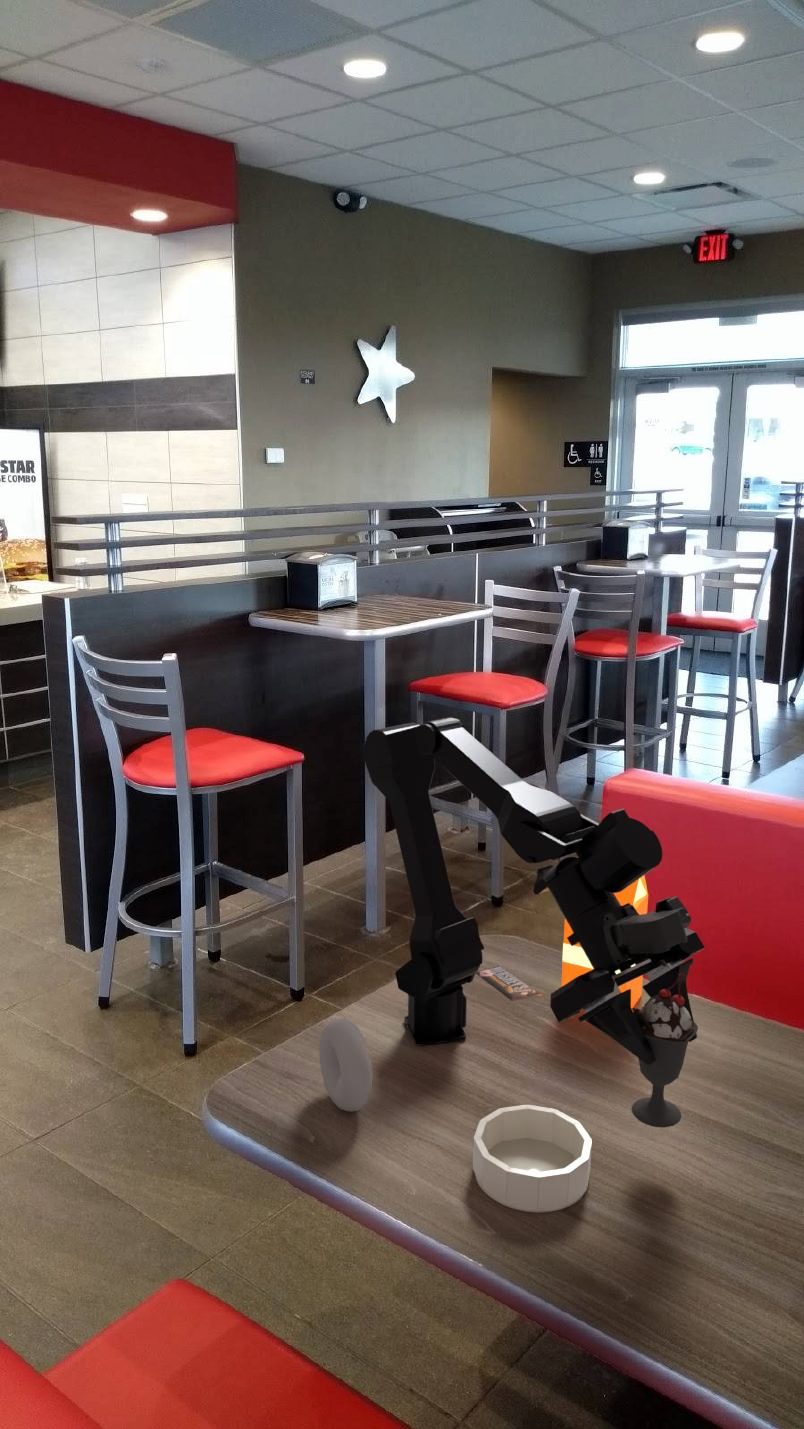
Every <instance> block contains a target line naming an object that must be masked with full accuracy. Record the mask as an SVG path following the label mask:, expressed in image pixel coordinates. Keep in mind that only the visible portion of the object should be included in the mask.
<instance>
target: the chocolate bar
mask: <svg viewBox="0 0 804 1429" xmlns="http://www.w3.org/2000/svg"><path fill="white" fill-rule="evenodd" d="M475 975H477V976H478V977H480V978H481V979H482V980H484V982H486V983H488V984H489V985H491V987H493V988H494V989H496V990H497V991H498V992H500V993H501V994H502V995H503V996H505V997H506V998H508V999H509V1000H510V1001H511V1003H517V1002H520V1001H521V1000H524V999H525V1000H526V999H528V998H532V997H541V996H543V994H542V993H540V992H538V991H536V990H535V989H533V988H532V987H530V986H529V985H527V984H526V983H525V982H524V981H522V980H520V979H519V978H517V977H516V976H515V975H513V974H512V973H511V972H509V970H507V969H505V968H504V967H503V966H501V965H497V966H494V967H492V968H487V969H483V970H480V971H479V970H478V971H477V972H476V973H475Z"/></svg>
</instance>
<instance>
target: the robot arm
mask: <svg viewBox="0 0 804 1429" xmlns="http://www.w3.org/2000/svg"><path fill="white" fill-rule="evenodd" d="M362 756H363V760H364V763H365V766H366V769H367V772H368V775H369V777H370V781H371V784H372V785H374V786H375V787H376V788H377V790H379V792H380V794H382V795H383V796H384V797H385V798H386V799H387V801H388V803H389V806H390V810H391V814H392V820H393V823H394V827H395V831H396V835H397V840H398V844H399V848H400V853H401V858H402V861H403V862H402V863H403V865H404V870H405V873H406V878H407V882H408V887H409V891H410V894H411V895H410V897H411V900H412V904H413V908H414V912H415V917H414V922H413V925H412V929H411V932H410V935H409V950H410V951H409V952H410V958H411V959H409V961H407V962H406V963H404V964H403V965H402V966H401V967H400V968H398V970H396V971H395V973H394V974H395V980H396V983H397V988H398V989H399V990H400V991H402V992H403V993H405V994H407V995H408V996H407V997H408V998H407V999H408V1002H407V1007H408V1008H407V1009H408V1010H407V1015H405V1016H404V1018H403V1019H404V1021H403V1022H405V1025H406V1027H407V1030H408V1032H409V1034H410V1035H411V1038H412V1039H413V1042H414V1044H415V1045H417V1046H422V1045H431V1044H440V1043H447V1042H456V1041H465V1040H466V1039H467V1034H466V1032H465V1030H464V1029H465V1028H466V1026H467V1006H468V1004H467V1002H468V1000H467V996H466V995H465V993H464V987H463V986H462V985H466V984H469V983H473V981H474V978H475V975H476V974H475V973H476V972H479V968H480V967H481V965H482V964H483V951H482V950H484V949H485V946H484V944H483V942H482V940H481V936H480V931H479V923H478V921H477V920H476V918H475V917H474V916H473V917H469V918H467V917H466V916H465V914H463V912H462V911H461V910H460V909H459V908H458V906H456V905H457V904H456V902H455V898H454V894H453V889H452V887H451V885H452V884H451V882H450V877H449V873H448V868H447V865H446V861H445V856H444V852H443V849H442V844H441V840H440V836H439V832H438V826H437V822H436V818H435V814H434V810H433V806H432V801H431V798H430V793H429V792H430V788H431V784H432V781H433V776H434V773H435V769H436V764H435V763H436V762H435V761H437V763H438V764H440V766H442V767H443V769H445V770H446V771H447V772H449V774H451V775H452V776H453V777H454V779H456V780H457V781H458V783H460V784H461V785H462V786H463V787H465V789H466V790H468V791H469V792H470V793H471V795H473V796H475V798H476V799H477V800H478V801H480V802H481V803H482V804H483V805H484V807H486V808H487V809H488V810H489V811H490V812H491V813H492V814H493V815H494V816H495V817H496V819H497V822H498V827H499V832H500V834H501V836H502V837H503V839H504V840H505V841H506V842H507V844H508V845H509V846H510V848H511V849H512V850H513V851H514V853H515V854H516V855H517V856H518V857H519V858H520V859H521V860H522V861H523V862H525V863H527V864H540V863H543V862H545V861H548V860H550V861H554V860H558V859H561V858H563V857H565V858H563V859H561V860H560V861H559V862H558V863H556V864H555V865H552V864H548V865H545V866H542V867H540V868H538V869H537V871H536V879H535V881H534V884H533V888H532V889H533V890H532V891H533V894H535V895H540V894H544V893H545V892H550V893H551V895H552V897H553V900H555V902H556V904H557V906H558V908H559V910H560V911H561V914H562V915H563V916H564V920H565V919H566V920H567V922H568V924H569V926H570V928H571V929H572V931H573V934H571V935H570V936H569V937H567V939H568V941H569V943H570V945H571V946H574V945H576V944H578V943H579V944H580V945H581V947H582V949H583V951H584V952H585V954H586V956H587V958H588V960H589V961H590V963H591V965H592V967H593V968H594V969H593V970H591V971H589V972H587V973H584V974H582V975H580V976H578V977H576V978H574V979H573V980H571V981H570V982H568V983H567V984H565V985H564V986H562V985H561V986H560V987H559V988H557V989H556V990H554V991H553V992H551V993H550V1000H549V1006H550V1007H549V1008H550V1010H551V1011H552V1012H553V1015H554V1017H555V1018H556V1020H557V1022H558V1023H561V1022H564V1021H566V1020H568V1019H570V1018H572V1017H574V1016H576V1015H577V1014H580V1013H581V1010H583V1011H584V1014H582V1015H581V1016H579V1017H577V1020H578V1021H579V1023H583V1022H587V1023H588V1024H590V1025H591V1026H592V1027H594V1028H596V1029H597V1030H599V1031H600V1032H602V1033H604V1034H605V1035H607V1036H608V1037H609V1038H611V1039H612V1040H613V1041H615V1042H616V1043H618V1044H619V1045H620V1046H622V1047H623V1048H624V1049H625V1050H627V1051H628V1052H630V1054H632V1055H633V1056H634V1057H636V1058H639V1059H640V1060H641V1061H643V1062H644V1063H645V1064H647V1065H650V1064H652V1063H654V1062H656V1058H655V1056H654V1053H653V1051H652V1048H651V1046H650V1044H649V1042H648V1040H647V1038H646V1036H645V1034H644V1033H643V1031H642V1029H641V1027H640V1025H639V1023H638V1021H637V1019H636V1017H635V1015H634V1013H633V1008H632V1009H631V989H628V990H626V991H624V992H622V993H621V991H620V989H619V986H621V985H623V984H625V983H627V982H630V981H632V980H634V979H636V978H638V977H640V976H642V975H643V976H644V975H645V976H646V978H647V979H648V983H646V984H645V985H642V990H644V991H645V993H646V994H647V995H648V996H649V997H650V998H651V997H653V996H656V995H658V994H659V993H660V991H661V990H662V989H667V990H668V989H669V988H670V987H671V986H672V985H673V984H674V983H675V982H676V980H677V978H678V974H684V976H685V977H683V978H682V979H681V983H680V996H682V997H683V998H684V1004H683V1006H684V1007H685V1008H686V1009H687V1011H688V1012H689V1014H690V1016H691V1020H692V1021H693V1022H695V1021H694V1016H693V1012H692V1007H691V1003H690V999H689V993H688V986H687V979H688V975H689V971H690V967H691V966H692V965H693V964H694V960H695V959H694V957H692V956H694V955H695V954H698V953H699V952H700V951H702V950H704V949H705V944H704V943H703V942H702V940H701V939H700V937H699V934H697V932H696V931H694V930H692V929H689V928H688V927H690V924H691V922H692V917H691V915H690V914H689V912H688V909H687V908H686V906H685V905H684V904H683V903H682V901H681V900H680V898H679V897H678V896H673V897H666V898H664V899H662V900H659V901H657V902H656V904H655V910H652V911H650V912H647V914H641V915H639V914H638V912H637V911H636V909H635V907H634V906H633V905H630V903H627V904H625V905H622V906H621V904H620V903H619V901H618V899H617V898H616V896H615V894H614V893H618V892H621V891H623V890H624V889H625V888H627V887H628V886H630V885H631V884H633V883H634V882H635V881H637V880H638V879H640V878H641V877H642V876H645V875H646V874H648V873H649V872H651V871H653V869H655V868H657V867H658V866H659V865H660V863H661V862H662V859H663V848H662V845H661V844H662V843H661V842H660V839H659V836H657V834H656V832H655V831H654V830H651V829H650V828H649V827H648V826H647V825H646V824H644V823H643V822H641V821H640V820H638V819H635V818H631V817H630V816H629V815H628V813H627V812H626V810H625V809H624V808H620V809H617V810H614V811H611V812H609V813H608V814H606V816H604V817H603V818H602V820H601V821H600V823H599V822H597V821H596V820H593V819H591V818H589V817H587V816H585V815H583V814H582V813H580V812H581V811H579V810H578V809H577V807H576V806H575V805H573V804H572V803H570V802H569V801H568V800H566V799H564V798H563V797H561V796H560V795H557V794H556V793H554V792H552V791H549V790H547V789H543V788H540V787H537V786H533V785H531V784H530V783H527V781H524V780H523V779H522V778H521V777H520V776H518V775H517V773H515V772H514V771H513V770H512V769H511V768H509V767H508V766H507V765H506V764H505V763H503V762H502V760H500V759H499V758H498V757H497V756H496V755H494V753H493V752H491V751H490V750H489V749H488V748H486V747H485V745H483V744H482V743H481V742H480V741H478V740H477V739H476V738H475V737H474V736H473V734H470V733H469V732H468V731H467V730H466V728H465V725H464V724H463V722H462V721H460V719H458V718H454V717H449V716H447V717H444V718H438V719H433V720H428V721H426V722H423V723H422V724H421V725H420V724H418V723H417V722H408V723H403V724H398V725H394V726H388V727H383V728H378V729H373V730H372V731H369V733H368V734H367V736H366V738H365V741H364V743H363V744H362ZM572 854H576V856H569V855H572ZM567 856H568V857H567ZM577 857H578V858H577ZM689 958H690V959H689ZM685 960H686V961H685ZM634 964H635V966H633V967H631V966H632V965H634ZM617 970H620V973H618V974H616V973H615V971H617ZM679 981H680V977H679V978H678V981H677V982H676V984H675V985H674V986H673V987H672V988H671V989H670V990H669V991H670V993H671V997H673V996H674V995H679V994H678V986H679ZM697 1038H698V1034H697V1032H696V1034H695V1035H694V1037H693V1038H692V1039H691V1040H689V1041H688V1043H691V1042H693V1041H695V1040H696V1039H697ZM639 1059H638V1060H639Z"/></svg>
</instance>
